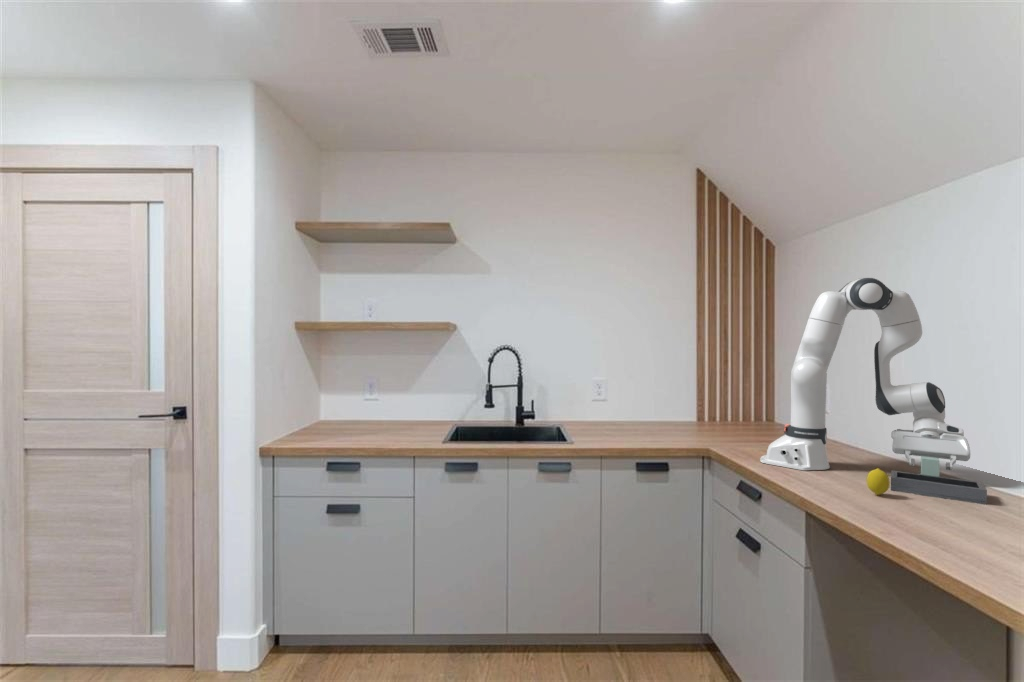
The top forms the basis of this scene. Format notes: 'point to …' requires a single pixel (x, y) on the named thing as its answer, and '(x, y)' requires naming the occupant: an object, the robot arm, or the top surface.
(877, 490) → the lemon
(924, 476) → the bottom track
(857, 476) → the top surface
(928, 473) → the door block
